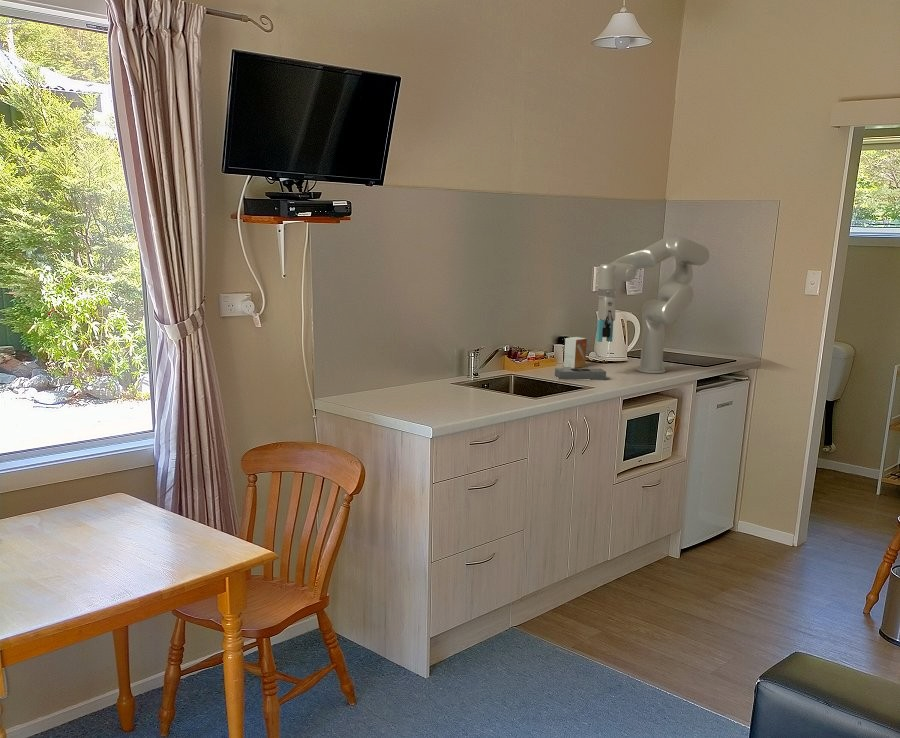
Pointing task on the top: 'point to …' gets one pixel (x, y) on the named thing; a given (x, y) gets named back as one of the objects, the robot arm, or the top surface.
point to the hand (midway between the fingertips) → (604, 336)
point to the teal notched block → (600, 328)
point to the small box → (575, 352)
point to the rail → (580, 373)
